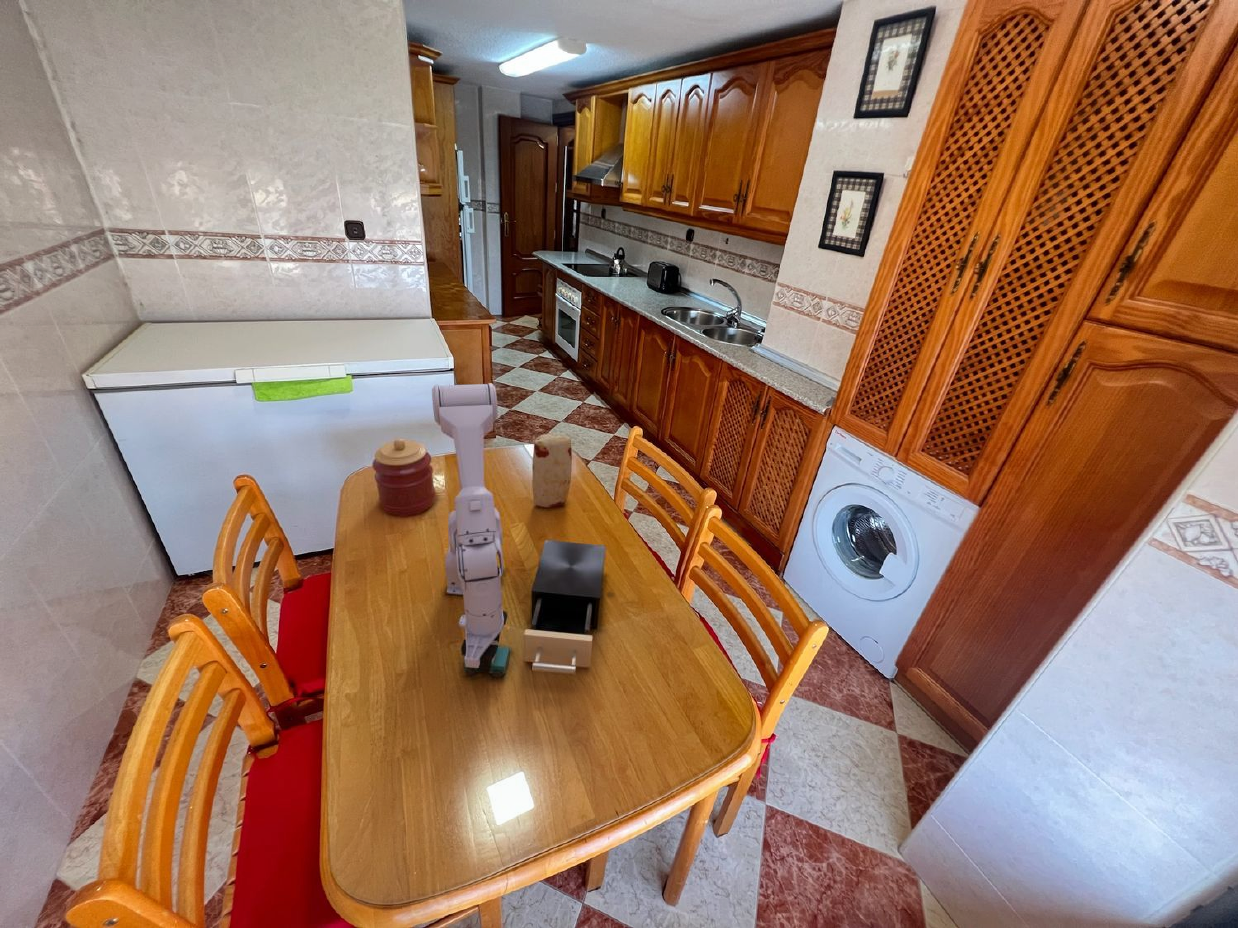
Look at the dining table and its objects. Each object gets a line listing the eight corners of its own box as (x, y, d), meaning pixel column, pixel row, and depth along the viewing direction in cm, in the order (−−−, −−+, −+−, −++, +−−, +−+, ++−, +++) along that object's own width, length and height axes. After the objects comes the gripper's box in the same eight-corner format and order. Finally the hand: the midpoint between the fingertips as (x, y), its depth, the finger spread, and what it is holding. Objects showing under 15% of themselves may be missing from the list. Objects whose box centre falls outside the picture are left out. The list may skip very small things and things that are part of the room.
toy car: (463, 674, 84) (461, 658, 82) (471, 650, 88) (470, 634, 86) (504, 678, 84) (503, 662, 82) (511, 654, 88) (510, 638, 86)
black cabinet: (597, 629, 94) (600, 597, 90) (531, 623, 94) (531, 590, 90) (602, 576, 107) (605, 545, 103) (544, 570, 107) (545, 539, 102)
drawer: (587, 689, 82) (589, 663, 79) (519, 683, 82) (518, 656, 79) (596, 608, 98) (598, 583, 94) (538, 603, 98) (539, 577, 94)
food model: (534, 513, 124) (534, 443, 114) (530, 498, 129) (529, 430, 119) (572, 509, 127) (575, 440, 117) (567, 494, 132) (569, 427, 122)
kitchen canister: (429, 482, 131) (421, 423, 123) (442, 509, 122) (434, 446, 113) (376, 494, 125) (363, 432, 116) (385, 522, 116) (372, 457, 107)
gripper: (471, 568, 85) (476, 623, 91) (441, 636, 72) (449, 694, 79) (512, 572, 85) (514, 627, 91) (489, 641, 72) (493, 698, 79)
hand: (487, 658), depth 85 cm, fingers closed on toy car, 4 cm apart
